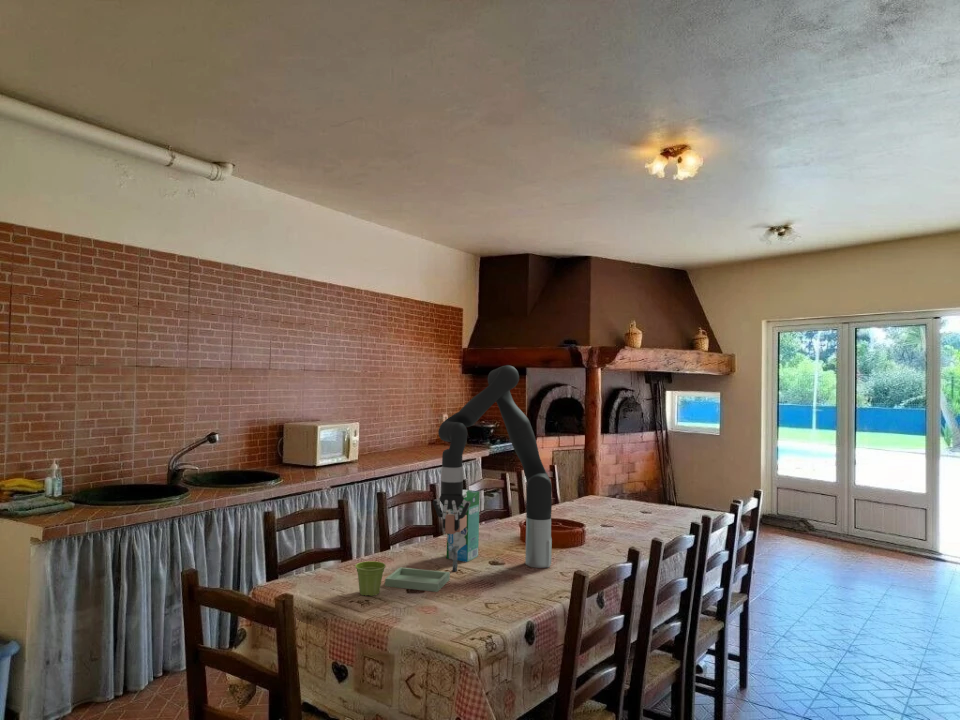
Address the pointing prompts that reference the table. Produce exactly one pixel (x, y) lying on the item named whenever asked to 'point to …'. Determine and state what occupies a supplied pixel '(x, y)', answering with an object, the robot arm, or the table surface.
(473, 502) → the milk carton
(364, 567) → the plant pot
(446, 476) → the robot arm
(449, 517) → the collar
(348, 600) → the table surface
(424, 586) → the tray
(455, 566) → the hammer
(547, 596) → the table surface
